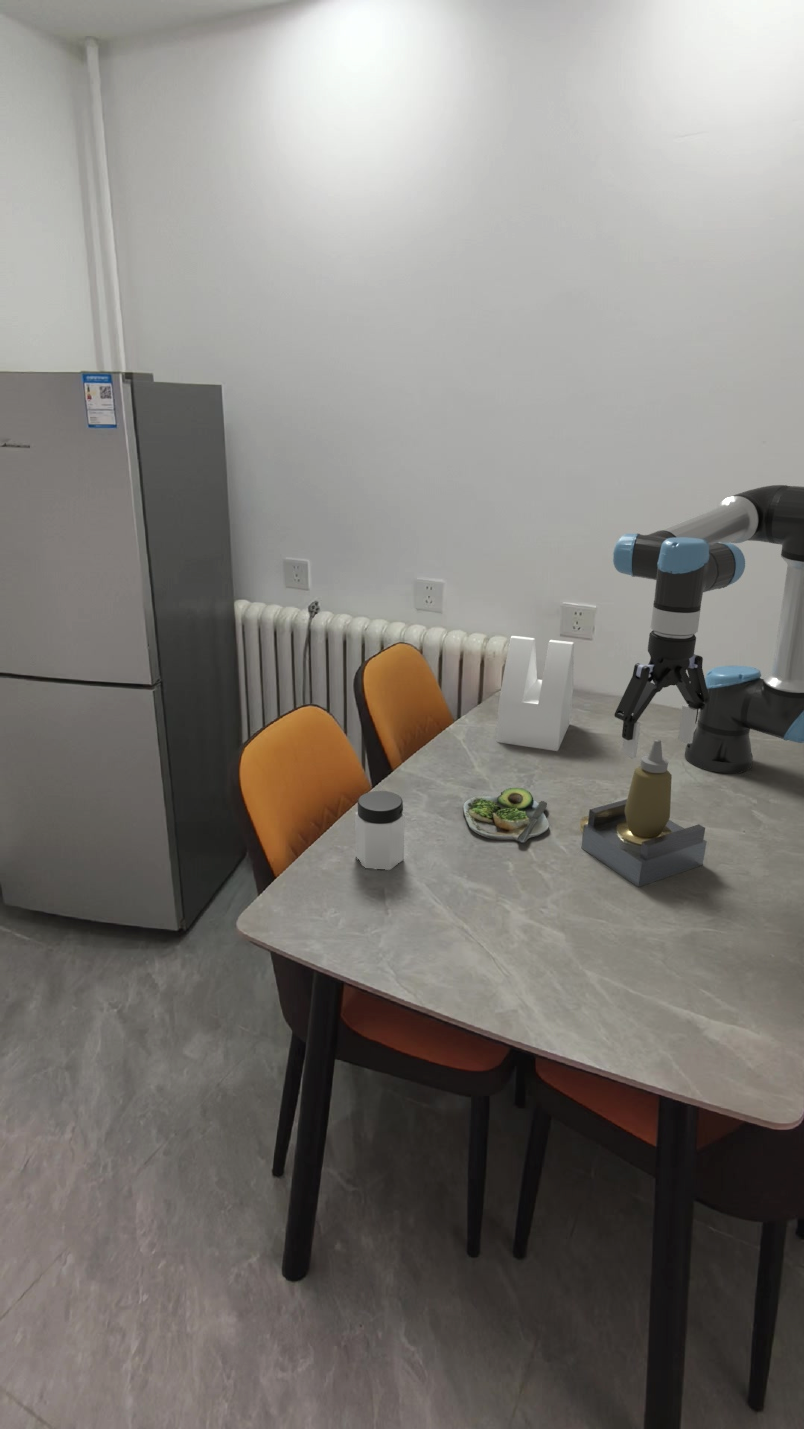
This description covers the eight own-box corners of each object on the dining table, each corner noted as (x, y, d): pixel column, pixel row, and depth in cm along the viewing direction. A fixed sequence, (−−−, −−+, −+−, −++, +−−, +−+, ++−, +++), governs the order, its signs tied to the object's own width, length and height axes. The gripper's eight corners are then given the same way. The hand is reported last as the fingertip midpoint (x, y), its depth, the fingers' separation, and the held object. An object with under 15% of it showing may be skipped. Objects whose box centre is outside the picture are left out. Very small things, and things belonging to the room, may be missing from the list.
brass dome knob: (596, 821, 162) (597, 813, 161) (616, 835, 157) (618, 826, 156) (573, 828, 159) (574, 819, 158) (593, 842, 154) (594, 833, 153)
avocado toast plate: (563, 849, 151) (565, 828, 150) (470, 849, 150) (471, 828, 149) (543, 803, 169) (544, 783, 168) (459, 802, 169) (460, 783, 167)
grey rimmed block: (643, 829, 158) (648, 793, 156) (702, 865, 146) (709, 826, 143) (581, 847, 151) (585, 810, 148) (638, 887, 139) (643, 847, 136)
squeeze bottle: (669, 844, 142) (684, 752, 136) (623, 838, 144) (635, 747, 137) (664, 822, 150) (678, 734, 143) (620, 818, 151) (632, 730, 145)
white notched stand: (557, 751, 195) (567, 653, 186) (496, 742, 199) (502, 646, 191) (569, 724, 212) (578, 633, 203) (512, 716, 216) (519, 627, 207)
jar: (410, 865, 144) (411, 806, 140) (369, 875, 141) (369, 815, 136) (389, 842, 152) (390, 786, 147) (350, 851, 148) (349, 794, 144)
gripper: (707, 618, 142) (691, 728, 150) (601, 636, 131) (589, 753, 138) (742, 628, 136) (723, 742, 144) (633, 648, 125) (619, 770, 132)
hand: (657, 748), depth 141 cm, fingers open, 13 cm apart
